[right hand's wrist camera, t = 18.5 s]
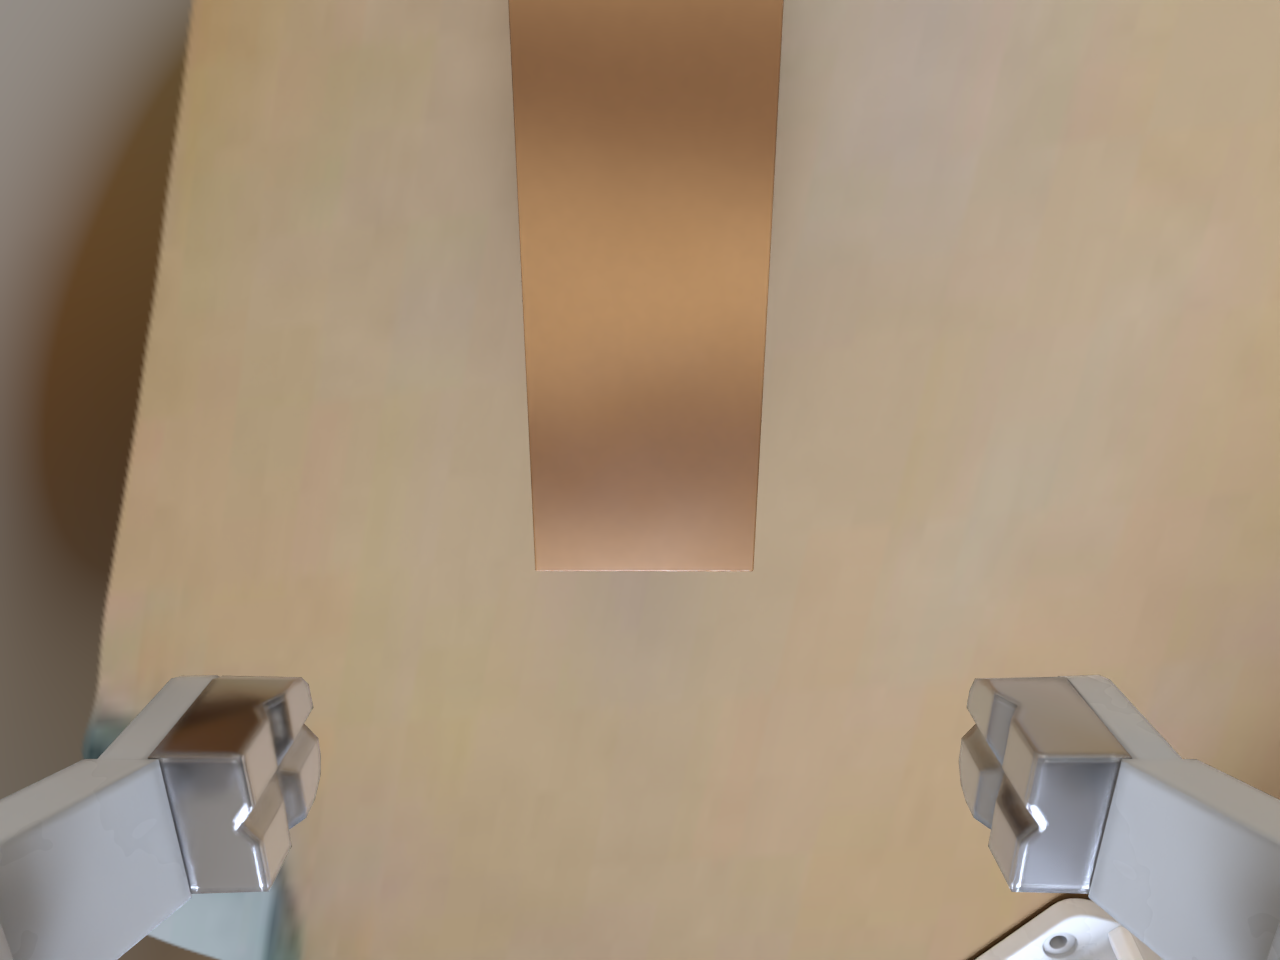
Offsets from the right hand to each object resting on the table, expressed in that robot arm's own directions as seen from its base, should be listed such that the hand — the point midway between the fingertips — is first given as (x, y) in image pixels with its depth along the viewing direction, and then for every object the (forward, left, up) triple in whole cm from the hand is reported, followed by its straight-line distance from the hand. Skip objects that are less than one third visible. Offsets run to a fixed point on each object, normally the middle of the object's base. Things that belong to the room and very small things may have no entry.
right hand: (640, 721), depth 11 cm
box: (+4, +5, -24) cm, 25 cm away
